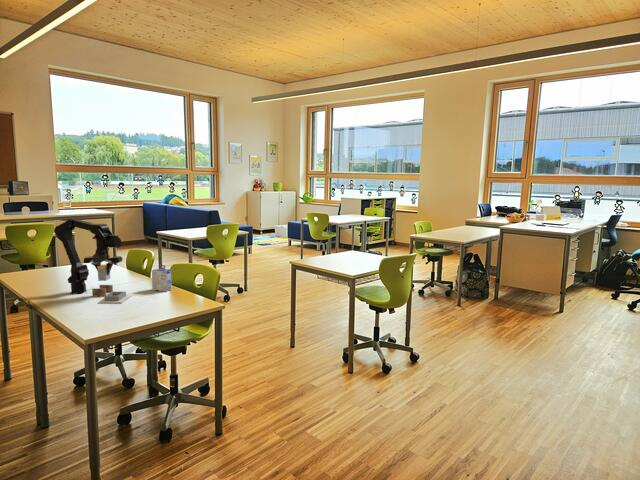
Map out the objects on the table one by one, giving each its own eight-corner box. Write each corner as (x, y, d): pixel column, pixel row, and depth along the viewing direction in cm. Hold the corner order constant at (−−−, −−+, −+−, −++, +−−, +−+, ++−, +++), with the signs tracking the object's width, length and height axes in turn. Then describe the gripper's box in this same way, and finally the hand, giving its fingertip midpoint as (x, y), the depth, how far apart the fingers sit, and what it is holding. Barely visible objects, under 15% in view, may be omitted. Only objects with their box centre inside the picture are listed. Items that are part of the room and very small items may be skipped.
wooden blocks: (92, 296, 242) (92, 289, 242) (100, 291, 252) (100, 284, 251) (105, 296, 242) (105, 289, 242) (113, 291, 252) (112, 284, 251)
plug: (98, 280, 241) (97, 266, 240) (103, 278, 247) (102, 264, 246) (105, 280, 241) (104, 266, 240) (110, 278, 247) (109, 264, 246)
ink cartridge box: (172, 289, 259) (171, 265, 257) (167, 291, 253) (166, 267, 251) (157, 288, 261) (156, 264, 259) (151, 290, 255) (150, 266, 253)
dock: (98, 303, 228) (97, 297, 228) (110, 296, 242) (109, 290, 242) (121, 303, 229) (121, 297, 228) (132, 296, 243) (131, 290, 242)
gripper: (77, 249, 233) (79, 278, 235) (113, 249, 234) (115, 278, 236) (87, 246, 244) (89, 273, 246) (121, 246, 245) (123, 273, 247)
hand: (104, 275), depth 244 cm, fingers closed on plug, 4 cm apart
